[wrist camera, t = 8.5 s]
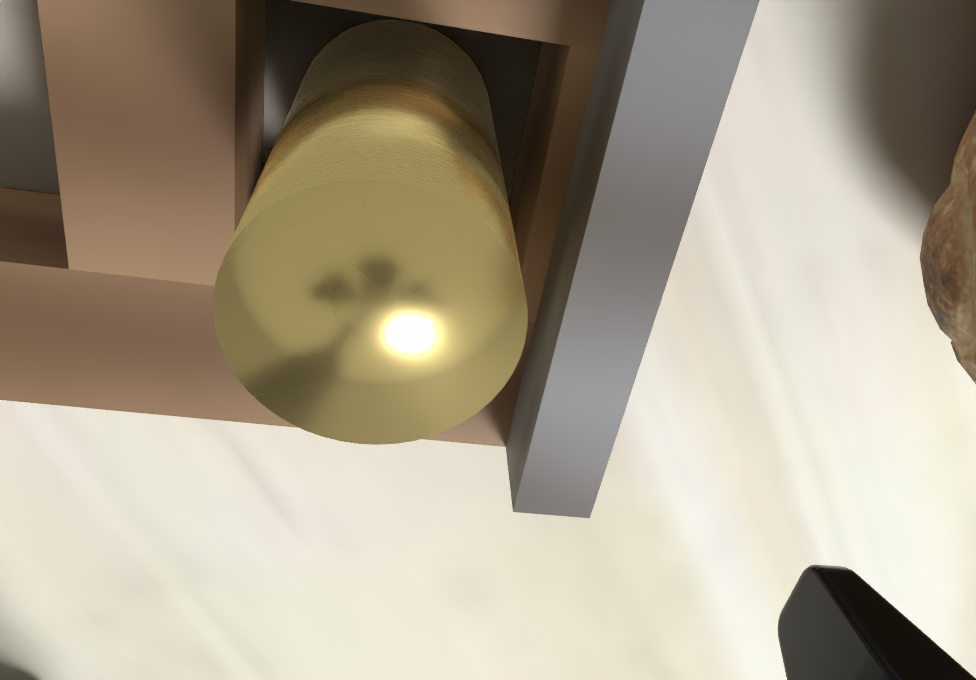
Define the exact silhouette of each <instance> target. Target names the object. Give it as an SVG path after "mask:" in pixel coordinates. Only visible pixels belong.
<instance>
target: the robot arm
mask: <svg viewBox="0 0 976 680" xmlns="http://www.w3.org/2000/svg"><path fill="white" fill-rule="evenodd" d="M778 637H779V643H780V647H781V652H782V657H783V662H784V667H785V672H786V677H787V680H976V678H974V677H973V676H972V675H971V674H970V673H969V672H968V671H967V670H965V669H964V668H963V667H962V666H961V665H960V664H959V663H957V662H956V661H955V660H954V659H953V658H952V657H951V656H949V655H948V654H947V653H946V652H945V651H944V650H943V649H941V648H940V647H939V646H938V645H937V644H936V643H935V642H934V641H932V640H931V639H930V638H929V637H928V636H927V635H926V634H924V633H923V632H922V631H921V630H920V629H919V628H918V627H916V626H915V625H914V624H913V623H912V622H911V621H910V620H908V619H907V618H906V617H905V616H904V615H903V614H902V613H901V612H899V611H898V610H897V609H896V608H895V607H894V606H893V605H891V604H890V603H889V602H888V601H887V600H886V599H885V598H883V597H882V596H881V595H880V594H879V593H878V592H877V591H875V590H874V589H873V588H872V587H871V586H870V585H869V584H868V583H866V582H865V581H864V580H863V579H862V578H861V577H860V576H858V575H857V574H856V573H855V572H853V571H852V570H850V569H848V568H845V567H840V566H827V565H811V566H809V567H808V568H806V569H805V570H804V571H803V573H802V575H801V576H800V578H799V580H798V582H797V584H796V586H795V587H794V589H793V591H792V593H791V595H790V597H789V598H788V600H787V602H786V604H785V606H784V608H783V609H782V611H781V614H780V617H779V621H778Z"/></svg>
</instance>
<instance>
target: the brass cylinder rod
mask: <svg viewBox="0 0 976 680" xmlns="http://www.w3.org/2000/svg"><path fill="white" fill-rule="evenodd" d="M213 317H214V326H215V330H216V334H217V338H218V342H219V345H220V347H221V350H222V352H223V354H224V357H225V359H226V361H227V363H228V364H229V366H230V368H231V369H232V371H233V373H234V374H235V376H236V377H237V378H238V380H239V381H240V382H241V383H242V385H243V386H244V387H245V388H246V389H247V390H248V391H249V392H250V393H251V394H252V395H253V396H254V397H255V398H256V399H257V400H258V401H259V402H260V403H261V404H263V405H264V406H265V407H266V408H268V409H269V410H270V411H271V412H273V413H274V414H276V415H278V416H279V417H281V418H282V419H284V420H286V421H287V422H289V423H291V424H293V425H295V426H297V427H299V428H302V429H304V430H306V431H309V432H311V433H314V434H317V435H320V436H323V437H327V438H331V439H335V440H339V441H344V442H351V443H358V444H395V443H402V442H409V441H415V440H419V439H422V438H426V437H430V436H433V435H436V434H438V433H441V432H444V431H446V430H449V429H451V428H453V427H455V426H457V425H458V424H460V423H462V422H464V421H466V420H467V419H469V418H470V417H472V416H473V415H475V414H476V413H478V412H479V411H480V410H481V409H483V408H484V407H485V406H486V405H487V404H488V403H489V402H491V401H492V400H493V399H494V397H495V396H496V395H497V394H498V393H499V392H500V391H501V390H502V388H503V387H504V386H505V384H506V383H507V381H508V380H509V378H510V377H511V375H512V374H513V372H514V370H515V368H516V366H517V364H518V362H519V359H520V357H521V354H522V350H523V347H524V344H525V339H526V332H527V326H528V309H527V302H526V296H525V290H524V284H523V279H522V274H521V268H520V263H519V257H518V252H517V247H516V241H515V236H514V230H513V225H512V220H511V214H510V209H509V203H508V198H507V193H506V187H505V182H504V176H503V171H502V166H501V160H500V155H499V149H498V144H497V139H496V133H495V128H494V122H493V117H492V112H491V106H490V101H489V96H488V93H487V89H486V86H485V83H484V81H483V79H482V77H481V74H480V72H479V71H478V69H477V68H476V66H475V64H474V63H473V61H472V60H471V59H470V58H469V56H468V55H467V54H466V53H465V52H464V51H463V50H462V49H461V48H460V47H459V46H458V45H457V44H456V43H455V42H453V41H452V40H451V39H449V38H448V37H446V36H445V35H443V34H442V33H440V32H438V31H436V30H434V29H432V28H430V27H427V26H424V25H422V24H418V23H414V22H410V21H404V20H394V19H392V20H377V21H372V22H366V23H363V24H360V25H357V26H354V27H352V28H350V29H348V30H346V31H344V32H342V33H341V34H339V35H338V36H336V37H335V38H333V39H332V40H331V41H330V42H329V43H328V44H326V45H325V46H324V47H323V48H322V49H321V51H320V52H319V53H318V54H317V55H316V57H315V58H314V59H313V61H312V63H311V64H310V66H309V68H308V70H307V72H306V74H305V76H304V79H303V81H302V83H301V85H300V88H299V90H298V92H297V94H296V97H295V99H294V101H293V103H292V106H291V108H290V110H289V112H288V115H287V117H286V119H285V121H284V124H283V126H282V128H281V130H280V133H279V135H278V137H277V139H276V142H275V144H274V146H273V148H272V151H271V153H270V155H269V157H268V160H267V162H266V164H265V166H264V169H263V171H262V173H261V175H260V178H259V180H258V182H257V184H256V187H255V189H254V191H253V193H252V196H251V198H250V200H249V202H248V205H247V207H246V209H245V211H244V214H243V216H242V218H241V220H240V223H239V225H238V227H237V229H236V232H235V234H234V236H233V238H232V241H231V243H230V245H229V247H228V250H227V252H226V254H225V257H224V259H223V261H222V264H221V266H220V269H219V271H218V274H217V279H216V283H215V287H214V295H213Z"/></svg>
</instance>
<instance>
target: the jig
mask: <svg viewBox="0 0 976 680" xmlns="http://www.w3.org/2000/svg"><path fill="white" fill-rule="evenodd" d="M292 1H298V2H304V3H310V4H316V5H322V6H328V7H334V8H341V9H347V10H353V11H359V12H365V13H371V14H377V15H383V16H390V17H396V18H402V19H408V20H414V21H420V22H426V23H432V24H439V25H445V26H451V27H457V28H463V29H469V30H475V31H482V32H488V33H494V34H500V35H506V36H512V37H518V38H524V39H531V40H537V41H542V44H541V49H540V55H539V60H538V65H537V70H536V75H535V80H534V85H533V90H532V95H531V100H530V105H529V110H528V115H527V120H526V125H525V130H524V135H523V140H522V145H521V150H520V155H519V160H518V165H517V170H516V175H515V180H514V185H513V190H512V195H511V200H510V205H509V209H510V214H511V220H512V225H513V230H514V236H515V241H516V247H517V252H518V257H519V263H520V268H521V274H522V279H523V284H524V290H525V296H526V302H527V309H528V326H527V332H526V339H525V344H524V347H523V350H522V354H521V357H520V359H519V362H518V364H517V366H516V368H515V370H514V372H513V374H512V375H511V377H510V378H509V380H508V381H507V383H506V384H505V386H504V387H503V388H502V390H501V391H500V392H499V393H498V394H497V395H496V396H495V397H494V399H493V400H492V401H491V402H489V403H488V404H487V405H486V406H485V407H484V408H483V409H481V410H480V411H479V412H478V413H476V414H475V415H473V416H472V417H470V418H469V419H467V420H466V421H464V422H462V423H460V424H458V425H457V426H455V427H453V428H451V429H449V430H446V431H444V432H441V433H438V434H436V435H433V436H430V437H426V438H422V439H428V440H439V441H450V442H460V443H471V444H482V445H493V446H503V447H506V453H507V462H508V470H509V479H510V488H511V497H512V506H513V512H522V513H534V514H546V515H558V516H570V517H583V518H590V515H591V512H592V509H593V506H594V503H595V500H596V497H597V494H598V491H599V488H600V485H601V482H602V479H603V475H604V472H605V469H606V466H607V463H608V460H609V457H610V454H611V451H612V448H613V445H614V442H615V439H616V436H617V433H618V430H619V427H620V424H621V421H622V418H623V415H624V411H625V408H626V405H627V402H628V399H629V396H630V393H631V390H632V387H633V384H634V381H635V378H636V375H637V372H638V369H639V366H640V363H641V360H642V357H643V354H644V351H645V348H646V344H647V341H648V338H649V335H650V332H651V329H652V326H653V323H654V320H655V317H656V314H657V311H658V308H659V305H660V302H661V299H662V296H663V293H664V290H665V287H666V284H667V280H668V277H669V274H670V271H671V268H672V265H673V262H674V259H675V256H676V253H677V250H678V247H679V244H680V241H681V238H682V235H683V232H684V229H685V226H686V223H687V220H688V217H689V213H690V210H691V207H692V204H693V201H694V198H695V195H696V192H697V189H698V186H699V183H700V180H701V177H702V174H703V171H704V168H705V165H706V162H707V159H708V156H709V153H710V149H711V146H712V143H713V140H714V137H715V134H716V131H717V128H718V125H719V122H720V119H721V116H722V113H723V110H724V107H725V104H726V101H727V98H728V95H729V92H730V89H731V86H732V82H733V79H734V76H735V73H736V70H737V67H738V64H739V61H740V58H741V55H742V52H743V49H744V46H745V43H746V40H747V37H748V34H749V31H750V28H751V25H752V22H753V19H754V15H755V12H756V9H757V6H758V3H759V0H292ZM37 4H38V12H39V21H40V29H41V38H42V46H43V54H44V63H45V71H46V80H47V88H48V96H49V105H50V113H51V122H52V130H53V138H54V147H55V155H56V164H57V172H58V180H59V189H60V195H57V194H49V193H41V192H33V191H25V190H17V189H9V188H1V187H0V400H8V401H19V402H30V403H41V404H51V405H62V406H73V407H84V408H94V409H105V410H116V411H127V412H137V413H148V414H159V415H170V416H180V417H191V418H202V419H213V420H223V421H234V422H245V423H256V424H267V425H277V426H288V427H297V426H295V425H293V424H291V423H289V422H287V421H286V420H284V419H282V418H281V417H279V416H278V415H276V414H274V413H273V412H271V411H270V410H269V409H268V408H266V407H265V406H264V405H263V404H261V403H260V402H259V401H258V400H257V399H256V398H255V397H254V396H253V395H252V394H251V393H250V392H249V391H248V390H247V389H246V388H245V387H244V386H243V385H242V383H241V382H240V381H239V380H238V378H237V377H236V376H235V374H234V373H233V371H232V369H231V368H230V366H229V364H228V363H227V361H226V359H225V357H224V354H223V352H222V350H221V347H220V345H219V342H218V338H217V334H216V330H215V326H214V317H213V295H214V287H215V283H216V279H217V274H218V271H219V269H220V266H221V264H222V261H223V259H224V257H225V254H226V252H227V250H228V247H229V245H230V243H231V241H232V238H233V236H234V234H235V232H236V229H237V227H238V225H239V223H240V220H241V218H242V216H243V214H244V211H245V209H246V207H247V205H248V202H249V200H250V198H251V196H252V193H253V191H254V189H255V187H256V184H257V182H258V180H259V178H260V175H261V173H262V159H263V115H264V71H265V27H266V0H37Z"/></svg>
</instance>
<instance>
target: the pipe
mask: <svg viewBox="0 0 976 680" xmlns="http://www.w3.org/2000/svg"><path fill="white" fill-rule="evenodd" d="M953 161H954V164H953V169H952V173H951V178H950V180H951V184H950V185H949V186H948V188H947V189H946V190H945V192H944V193H943V194H942V195H941V197H940V198H939V199H938V201H937V202H936V203H935V205H934V207H933V210H932V212H931V215H930V218H929V220H928V223H927V226H926V228H925V231H924V234H923V239H922V246H921V253H920V262H921V269H922V275H923V282H924V287H925V293H926V298H927V303H928V306H929V308H930V310H931V312H932V314H933V316H934V317H935V319H936V321H937V323H938V325H939V327H940V329H941V330H942V331H943V332H944V333H945V334H946V335H947V336H948V337H949V338H950V339H952V341H951V344H952V347H953V350H954V352H955V355H956V358H957V360H958V362H959V363H960V364H961V366H962V367H963V368H964V369H965V371H966V372H967V373H968V375H969V376H970V377H971V378H972V380H973V381H974V382H975V383H976V111H975V113H974V115H973V117H972V119H971V121H970V123H969V125H968V127H967V129H966V131H965V133H964V136H963V138H962V140H961V142H960V145H959V147H958V150H957V152H956V155H955V158H954V160H953Z"/></svg>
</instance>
